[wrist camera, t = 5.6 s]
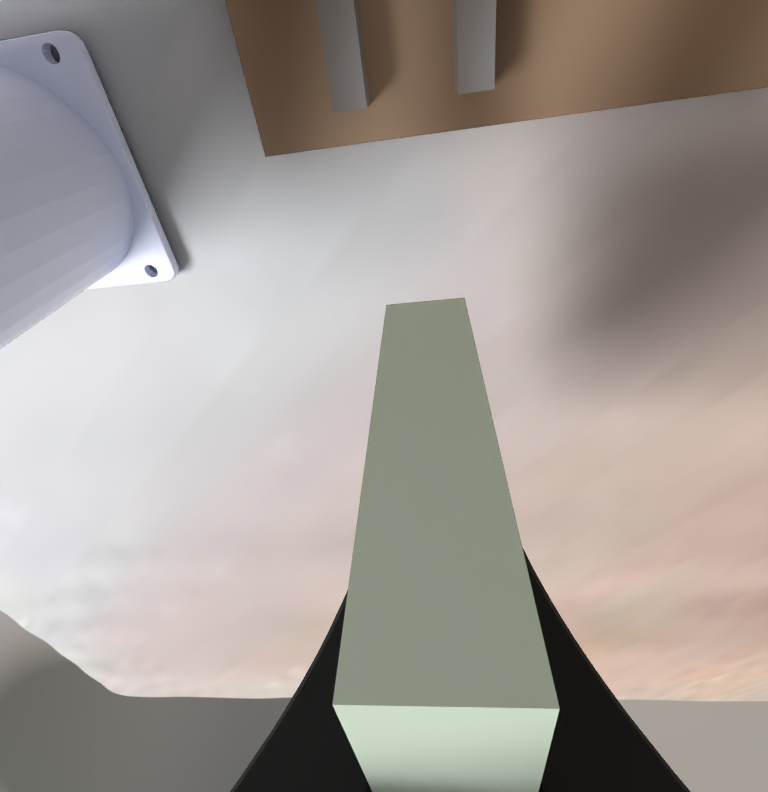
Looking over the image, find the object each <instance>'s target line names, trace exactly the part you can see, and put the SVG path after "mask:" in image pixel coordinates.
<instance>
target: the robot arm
mask: <svg viewBox="0 0 768 792" xmlns="http://www.w3.org/2000/svg"><path fill="white" fill-rule="evenodd" d="M51 45H53V46H55V47H56V49H57V50H58V52H59V55H60V61H59V63H58V62H57V61H55V60H54V58H53V57H52V55H51V51H50V48H51ZM149 265H152V266H154V267H155V268H156V269H157V271H158V274H157V273H154V272H153V271H152V270H151V269H150V267H149ZM178 272H179V268H178V264H177V262H176V260H175V257H174V255H173V253H172V250H171V248H170V245H169V243H168V241H167V238H166V236H165V233H164V231H163V229H162V226H161V224H160V222H159V219H158V217H157V214H156V212H155V210H154V207H153V205H152V202H151V200H150V198H149V195H148V193H147V191H146V188H145V186H144V183H143V181H142V179H141V176H140V174H139V172H138V169H137V167H136V164H135V162H134V160H133V157H132V155H131V152H130V150H129V148H128V145H127V143H126V141H125V138H124V136H123V133H122V131H121V129H120V126H119V124H118V121H117V119H116V117H115V114H114V112H113V110H112V107H111V105H110V102H109V100H108V98H107V95H106V93H105V91H104V88H103V86H102V83H101V81H100V79H99V76H98V74H97V71H96V69H95V67H94V64H93V62H92V60H91V57H90V55H89V52H88V50H87V48H86V46H85V44H84V43H83V41H82V40H81V39H80V38H79V37H78V36H77V35H76V34H74V33H72V32H70V31H60V30H56V31H51V32H45V33H40V34H34V35H29V36H24V37H18V38H13V39H7V40H2V41H0V349H1V348H2V347H4V346H5V345H7V344H8V343H10V342H11V341H12V340H14V339H15V338H17V337H18V336H20V335H21V334H23V333H24V332H25V331H27V330H28V329H30V328H31V327H33V326H34V325H35V324H37V323H38V322H40V321H41V320H43V319H44V318H46V317H47V316H48V315H50V314H51V313H53V312H54V311H56V310H57V309H58V308H60V307H61V306H63V305H64V304H66V303H67V302H69V301H70V300H71V299H73V298H74V297H76V296H77V295H79V294H80V293H81V292H83V291H84V290H89V289H98V288H108V287H117V286H127V285H136V284H146V283H155V282H164V281H170V280H173V279H174V278H175V277H176V276H177V275H178ZM522 548H523V547H522ZM523 552H524V557H525V561H526V565H527V570H528V574H529V578H530V583H531V587H532V591H533V596H534V600H535V604H536V609H537V613H538V617H539V622H540V626H541V630H542V635H543V639H544V643H545V648H546V652H547V656H548V660H549V665H550V669H551V673H552V678H553V682H554V686H555V691H556V695H557V699H558V704H559V708H560V710H559V713H558V717H557V721H556V725H555V729H554V733H553V737H552V741H551V745H550V749H549V753H548V757H547V761H546V765H545V769H544V772H543V776H542V780H541V784H540V788H539V792H690V791H689V789H688V788H687V787H686V786H685V785H684V784H683V782H682V781H681V780H680V779H679V778H678V776H677V775H676V774H675V773H674V772H673V770H672V769H671V768H670V767H669V765H668V764H667V763H666V762H665V760H664V759H663V758H662V757H661V755H660V754H659V753H658V751H657V750H656V749H655V748H654V746H653V745H652V744H651V743H650V742H649V740H648V739H647V738H646V736H645V735H644V734H643V733H642V731H641V730H640V729H639V728H638V726H637V725H636V724H635V723H634V721H633V720H632V719H631V717H630V716H629V715H628V714H627V712H626V711H625V709H624V708H623V707H622V705H621V704H620V703H619V701H618V700H617V699H616V697H615V696H614V695H613V693H612V692H611V691H610V689H609V688H608V686H607V685H606V684H605V682H604V681H603V679H602V678H601V677H600V675H599V674H598V672H597V671H596V670H595V668H594V667H593V665H592V664H591V662H590V661H589V659H588V658H587V656H586V655H585V654H584V652H583V651H582V649H581V648H580V646H579V644H578V643H577V641H576V640H575V638H574V637H573V635H572V634H571V632H570V631H569V629H568V627H567V626H566V624H565V623H564V621H563V619H562V618H561V616H560V615H559V613H558V611H557V610H556V608H555V606H554V605H553V603H552V601H551V599H550V598H549V596H548V594H547V592H546V591H545V589H544V587H543V585H542V584H541V582H540V580H539V578H538V576H537V575H536V573H535V571H534V569H533V567H532V565H531V563H530V561H529V559H528V557H527V555H526V553H525V551H524V549H523ZM347 593H348V590H347ZM347 593H346V595H345V598H344V600H343V602H342V604H341V606H340V609H339V611H338V613H337V615H336V617H335V619H334V621H333V623H332V625H331V628H330V630H329V632H328V634H327V636H326V638H325V640H324V642H323V644H322V646H321V648H320V650H319V651H318V653H317V655H316V657H315V659H314V661H313V663H312V664H311V666H310V668H309V670H308V672H307V673H306V675H305V677H304V679H303V680H302V682H301V684H300V686H299V687H298V689H297V691H296V692H295V694H294V696H293V697H292V699H291V701H290V703H289V704H288V706H287V707H286V709H285V711H284V712H283V714H282V715H281V717H280V719H279V720H278V722H277V723H276V725H275V727H274V728H273V730H272V731H271V733H270V734H269V736H268V737H267V739H266V740H265V742H264V743H263V745H262V746H261V748H260V749H259V751H258V752H257V754H256V755H255V757H254V758H253V759H252V761H251V762H250V764H249V765H248V767H247V768H246V770H245V771H244V773H243V774H242V776H241V777H240V779H239V780H238V782H237V783H236V784H235V786H234V787H233V789H232V790H231V791H230V792H372V790H371V788H370V786H369V783H368V781H367V779H366V777H365V775H364V773H363V770H362V768H361V766H360V764H359V762H358V759H357V757H356V755H355V753H354V751H353V749H352V746H351V744H350V742H349V740H348V738H347V736H346V733H345V731H344V729H343V727H342V725H341V722H340V720H339V718H338V716H337V714H336V712H335V709H334V707H333V705H332V704H333V697H334V690H335V682H336V675H337V667H338V660H339V653H340V645H341V638H342V630H343V623H344V615H345V608H346V601H347Z"/></svg>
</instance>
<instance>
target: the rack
mask: <svg viewBox="0 0 768 792" xmlns="http://www.w3.org/2000/svg"><path fill="white" fill-rule="evenodd" d="M225 1H226V5H227V9H228V13H229V17H230V21H231V25H232V28H233V32H234V36H235V40H236V44H237V48H238V52H239V56H240V60H241V63H242V67H243V71H244V75H245V79H246V83H247V87H248V91H249V95H250V98H251V102H252V106H253V110H254V114H255V118H256V122H257V126H258V130H259V133H260V137H261V141H262V145H263V149H264V153H265V157H266V156H274V155H281V154H288V153H295V152H302V151H310V150H317V149H324V148H331V147H339V146H346V145H353V144H360V143H367V142H375V141H382V140H389V139H396V138H404V137H411V136H418V135H425V134H432V133H440V132H447V131H454V130H461V129H469V128H476V127H483V126H490V125H498V124H505V123H512V122H519V121H526V120H534V119H541V118H548V117H555V116H563V115H570V114H577V113H584V112H591V111H599V110H606V109H613V108H620V107H628V106H635V105H642V104H649V103H657V102H664V101H671V100H678V99H685V98H693V97H700V96H707V95H714V94H722V93H729V92H736V91H743V90H750V89H758V88H765V87H768V0H225Z"/></svg>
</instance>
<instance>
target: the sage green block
mask: <svg viewBox="0 0 768 792" xmlns="http://www.w3.org/2000/svg"><path fill="white" fill-rule="evenodd" d="M332 705H333V707H334V709H335V712H336V714H337V716H338V718H339V720H340V722H341V725H342V727H343V729H344V731H345V733H346V736H347V738H348V740H349V742H350V744H351V746H352V749H353V751H354V753H355V755H356V757H357V759H358V762H359V764H360V766H361V768H362V770H363V773H364V775H365V777H366V779H367V781H368V783H369V786H370V788H371V790H372V792H539V788H540V784H541V780H542V776H543V772H544V769H545V765H546V761H547V757H548V753H549V749H550V745H551V741H552V737H553V733H554V729H555V725H556V721H557V717H558V713H559V710H560V708H559V704H558V699H557V695H556V691H555V686H554V682H553V678H552V673H551V669H550V665H549V660H548V656H547V652H546V648H545V643H544V639H543V635H542V630H541V626H540V622H539V617H538V613H537V609H536V604H535V600H534V596H533V591H532V587H531V583H530V578H529V574H528V570H527V565H526V561H525V557H524V552H523V548H522V544H521V540H520V535H519V531H518V527H517V522H516V518H515V514H514V509H513V505H512V501H511V496H510V492H509V488H508V483H507V479H506V475H505V470H504V466H503V462H502V457H501V453H500V449H499V444H498V440H497V436H496V432H495V427H494V423H493V419H492V414H491V410H490V406H489V401H488V397H487V393H486V388H485V384H484V380H483V375H482V371H481V367H480V362H479V358H478V354H477V349H476V345H475V341H474V336H473V332H472V328H471V324H470V319H469V315H468V311H467V306H466V302H465V298H455V299H445V300H434V301H423V302H412V303H401V304H391V305H386V311H385V319H384V326H383V334H382V341H381V348H380V356H379V363H378V371H377V378H376V386H375V393H374V400H373V408H372V415H371V423H370V430H369V437H368V445H367V452H366V460H365V467H364V475H363V482H362V489H361V497H360V504H359V512H358V519H357V526H356V534H355V541H354V549H353V556H352V564H351V571H350V578H349V586H348V593H347V601H346V608H345V615H344V623H343V630H342V638H341V645H340V653H339V660H338V667H337V675H336V682H335V690H334V697H333V704H332Z"/></svg>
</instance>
